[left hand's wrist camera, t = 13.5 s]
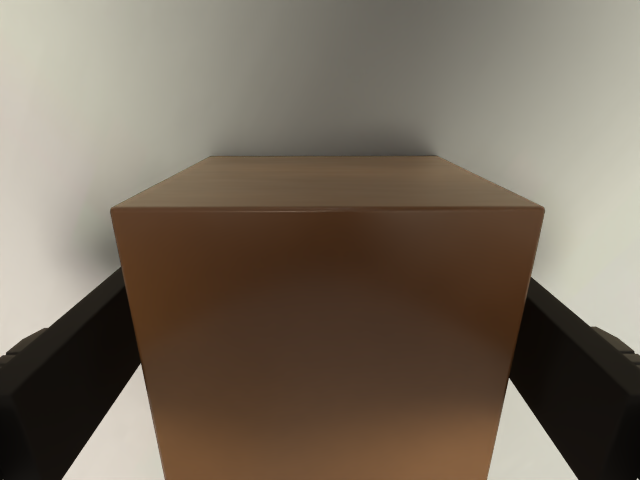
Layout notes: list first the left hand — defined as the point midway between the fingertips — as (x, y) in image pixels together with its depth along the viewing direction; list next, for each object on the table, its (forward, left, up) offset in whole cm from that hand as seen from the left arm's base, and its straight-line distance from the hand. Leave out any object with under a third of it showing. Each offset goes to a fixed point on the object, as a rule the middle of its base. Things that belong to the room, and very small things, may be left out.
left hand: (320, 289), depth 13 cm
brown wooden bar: (+33, 0, -2) cm, 33 cm away
